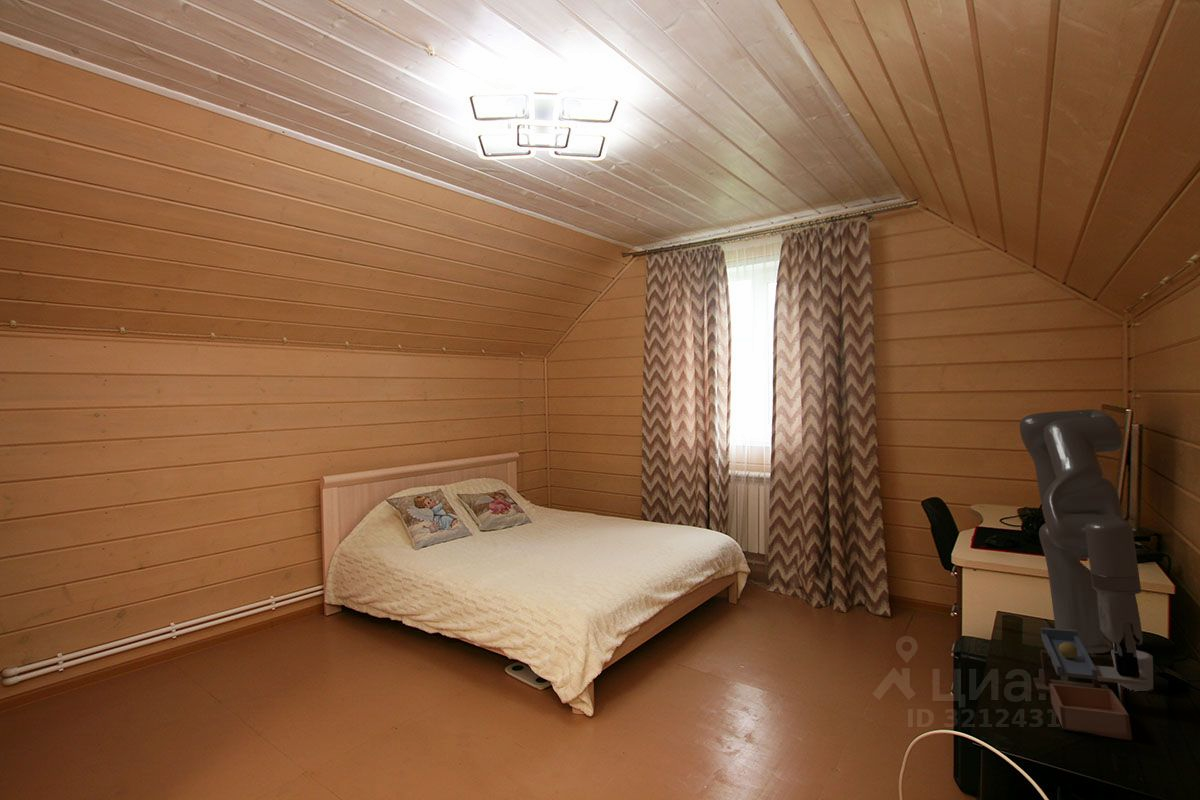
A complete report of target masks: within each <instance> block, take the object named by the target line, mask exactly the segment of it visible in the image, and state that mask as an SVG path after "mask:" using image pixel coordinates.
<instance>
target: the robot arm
mask: <svg viewBox="0 0 1200 800" xmlns="http://www.w3.org/2000/svg"><path fill="white" fill-rule="evenodd" d="M1019 433H1020V439H1021V441H1022V443H1023V445H1024V446H1025V448H1026V450H1027V452H1028V454H1029V456H1030V457H1031V459H1032V461H1033V465H1034V468H1035V469H1034V470H1035V475H1036V483H1037V486H1038V488H1037V489H1038V493H1039V500H1040V503H1041V506H1042V514H1043V518H1044V522H1045V523H1043V524H1042V525H1041V526H1040V528H1039V531H1038V536H1039V542H1040V545H1041V547H1042V551H1043V555H1044V558H1045V562H1046V566H1047V567H1046V568H1047V573H1048V580H1049V581H1048V582H1049V588H1050V590H1049V591H1050V597H1051V604H1052V612H1053V621H1054V627H1055V628H1054V629H1069V630H1077V635H1078V637H1079V639H1080V641H1081V643H1082V644H1083V646H1084V648H1085V650H1086V652H1087V653H1088V654H1089V653H1094V654H1105V653H1106V654H1107V653H1108V652H1111V650H1113V649H1114V650H1115V652H1117V653H1114V655H1115V662H1116V669H1117V672H1118V673H1119V675H1121V676H1129V677H1139V676H1140V674H1139V667H1138V660H1137V654H1136V650H1137V646H1141V645H1142V644H1144V643H1143V631H1142V623H1141V617H1140V611H1139V608H1138V607H1139V604H1138V601H1137V596H1136V595H1137V594H1141V593H1142V588H1141V587H1142V586H1141V580H1140V579H1141V578H1140V572H1139V571H1140V570H1139V566H1138V565H1139V564H1138V559H1137V551H1136V543H1135V536H1134V531H1133V528H1132V526H1131V524H1130V523H1129V522H1127V521H1126V520H1125V518H1124V517H1123V511H1122V510H1123V509H1122V506H1121V501H1120V497H1119V496H1120V495H1119V493H1118V491H1117V487H1116V486H1115V485H1114V484H1113V482H1112V481H1110V480H1109V479H1107V478H1104V477H1103V476H1104V475H1103V470H1102V467H1101V466H1100V463H1099V460H1098V457H1097V454H1096V453H1102V452H1103V453H1104V452H1105V453H1106V452H1114V451H1118V450H1119V449H1121V446H1122V445H1123V440H1124V439H1123V437H1124V436H1123V433H1122V430H1121V426H1119V423H1118V422H1117V421H1116V420H1115V419H1114V418H1113V417H1111V415H1108V413H1105V412H1103V411H1101V410H1098V409H1091V408H1089V409H1074V410H1063V411H1062V410H1060V411H1049V412H1048V411H1046V412H1038V413H1032V414H1028V415H1026V416H1024V417H1023V418H1022V419H1021V420H1020V421H1019ZM1087 559H1088V563H1089V568H1088V567H1087V566H1085V564H1083V563H1082V561H1080V560H1087ZM1104 636H1105V637H1106V638H1107V639H1106V638H1104ZM1136 645H1137V646H1136Z"/></svg>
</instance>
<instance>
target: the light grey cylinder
mask: <svg viewBox="0 0 1200 800" xmlns="http://www.w3.org/2000/svg"><path fill="white" fill-rule="evenodd" d="M1110 653H1111V658H1112V661H1113V662H1112V663H1113V667H1116V662H1115V655H1114V653H1117V652H1115V650H1114V648H1112V650H1111V651H1110ZM1136 654H1137V660H1138V667H1139V670H1142V671H1143V673H1144V674H1145V675H1146V677H1147V678H1148V680H1149V681H1150V685H1151V686H1145V685H1135V684H1124V683H1118V685H1119V684H1120V685H1122V686H1123V687H1125V688H1127V689H1126V690H1128V689H1129V691H1132V690H1134V691H1133V692H1137V691H1148V690H1151V689H1153V690H1154V656H1153V655H1152V654H1150V653H1148V652H1146V651H1142V650H1139V649H1136ZM1120 685H1119V686H1120ZM1123 687H1122V688H1123ZM1125 688H1124V689H1125Z"/></svg>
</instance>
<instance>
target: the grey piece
mask: <svg viewBox="0 0 1200 800" xmlns="http://www.w3.org/2000/svg"><path fill="white" fill-rule="evenodd" d="M1040 630H1041V631H1040V634H1041V641H1042V643H1043V646H1044V647H1045V648H1044V649H1045V650H1046V652H1047V656H1048V662H1051V663H1052V664H1051V665H1052V666H1053V668H1054V670H1055V673H1056V675H1057V676H1058V677H1066V678H1076V679H1085V680H1086V679H1088V680H1092V679H1096V680H1098V681H1100V682H1104V683H1115V684H1116V683H1117V684H1119V683H1124V684H1135V685H1145V686H1151V685H1150V681H1149V680H1148V678H1147V677H1146V675H1145V674H1144V673H1143V671H1142V670H1139V674H1140V676H1139V677H1129V676H1121V675H1119V673H1118V672H1117V669H1116V667H1114V666H1105V665H1098V666H1094V664H1093V662H1092V660H1091V659H1090V657H1089V653H1087V652H1086V650H1085V648H1084V646H1083V644H1082V643H1081V641H1080V639H1079V637H1078V635H1077V630H1069V629H1055V628H1052V627H1051V628H1050V627H1040ZM1064 642H1068V643H1071V644H1073V645H1074V646H1075V647H1076V648H1077V651H1078V654H1077V656H1076V657H1074V658H1066V657H1064V656H1063V655H1062V654H1061V653H1060V651H1059V646H1060V644H1062V643H1064Z"/></svg>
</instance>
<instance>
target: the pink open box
mask: <svg viewBox="0 0 1200 800" xmlns="http://www.w3.org/2000/svg"><path fill="white" fill-rule="evenodd" d="M1049 689H1050V694H1049V695H1050V704H1052V705H1051V707H1052V706H1053V707H1052V710H1053V709H1054V710H1053V712H1054V711H1055V712H1054V714H1055V713H1056V714H1055V716H1056V715H1057V716H1056V718H1057V717H1058V719H1059V721H1058V723H1059V722H1060V723H1059V725H1060V724H1061V726H1062V728H1063V729H1068V730H1074V731H1084V732H1088V733H1091V734H1095V735H1094V736H1096V735H1098V736H1097V737H1103V736H1105V737H1104V738H1111V739H1112V738H1113V739H1120V740H1127V741H1133V734H1132V728H1131V722H1130V721H1131V719H1130V714H1129V713H1128V712H1127V710H1126V709H1125V707H1124V705H1123V704H1122V703H1121V701H1120V700H1119V698H1118V697H1117V696H1116V694H1115V693H1114V691H1113V690H1112V689H1111V688H1109V689H1100V688H1090V687H1080V686H1071V685H1061V684H1051V683H1049ZM1058 719H1057V720H1058ZM1061 726H1060V727H1061ZM1062 728H1061V729H1062Z"/></svg>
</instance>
